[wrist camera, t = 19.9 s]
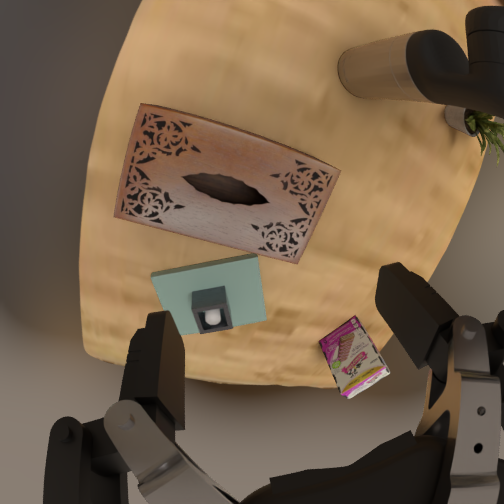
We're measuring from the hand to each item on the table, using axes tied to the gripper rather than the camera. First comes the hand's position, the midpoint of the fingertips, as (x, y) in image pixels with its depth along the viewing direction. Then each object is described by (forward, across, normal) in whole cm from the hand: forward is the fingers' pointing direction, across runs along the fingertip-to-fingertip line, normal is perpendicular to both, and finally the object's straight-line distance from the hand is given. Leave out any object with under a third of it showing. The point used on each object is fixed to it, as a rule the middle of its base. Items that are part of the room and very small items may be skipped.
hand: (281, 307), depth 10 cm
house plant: (+34, -46, -5) cm, 58 cm away
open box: (+33, +7, +25) cm, 42 cm away
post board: (+34, +7, +25) cm, 43 cm away
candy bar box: (+34, -20, +44) cm, 59 cm away
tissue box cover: (+35, +1, +3) cm, 35 cm away
